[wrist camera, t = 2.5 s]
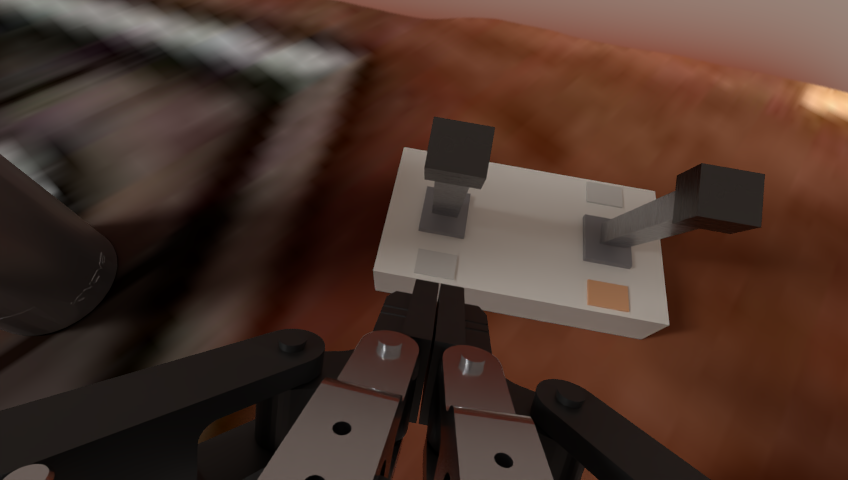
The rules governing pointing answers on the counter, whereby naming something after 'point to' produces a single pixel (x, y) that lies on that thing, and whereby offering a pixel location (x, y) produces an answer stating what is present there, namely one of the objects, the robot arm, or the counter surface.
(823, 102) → the counter surface
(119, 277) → the counter surface
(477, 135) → the lever
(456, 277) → the switch unit
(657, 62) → the counter surface
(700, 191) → the lever
